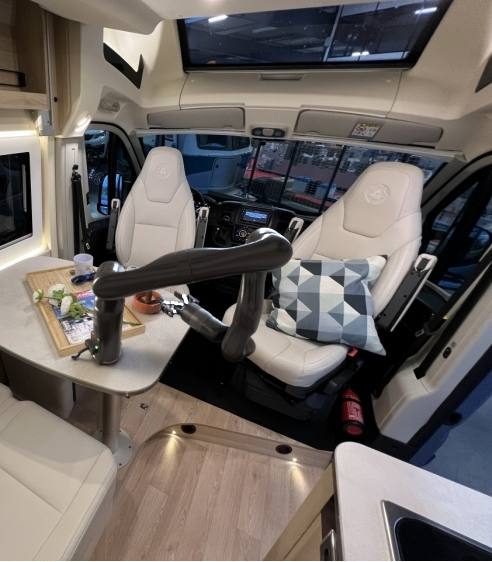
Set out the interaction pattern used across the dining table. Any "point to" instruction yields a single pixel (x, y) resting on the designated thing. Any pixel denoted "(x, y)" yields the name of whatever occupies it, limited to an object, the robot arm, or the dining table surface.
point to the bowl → (144, 307)
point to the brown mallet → (148, 298)
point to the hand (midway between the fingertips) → (166, 295)
